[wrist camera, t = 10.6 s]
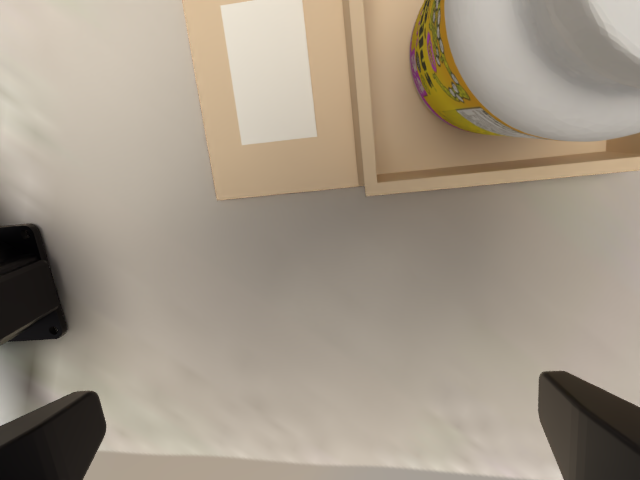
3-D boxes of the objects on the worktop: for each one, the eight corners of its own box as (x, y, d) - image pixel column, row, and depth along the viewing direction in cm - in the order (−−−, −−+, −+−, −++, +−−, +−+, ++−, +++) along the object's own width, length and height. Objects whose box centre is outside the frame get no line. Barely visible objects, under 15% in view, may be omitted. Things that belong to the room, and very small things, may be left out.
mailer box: (218, 199, 21) (191, 213, 18) (175, -50, 18) (134, -90, 15) (610, 160, 19) (665, 168, 15) (627, -129, 16) (698, -197, 13)
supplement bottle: (440, -59, 17) (655, -569, 4) (598, -9, 17) (1265, -392, 4) (384, 108, 19) (428, 73, 6) (527, 154, 19) (853, 207, 6)
